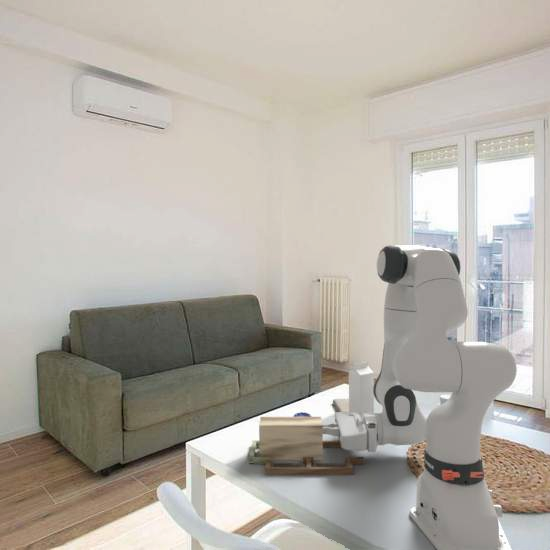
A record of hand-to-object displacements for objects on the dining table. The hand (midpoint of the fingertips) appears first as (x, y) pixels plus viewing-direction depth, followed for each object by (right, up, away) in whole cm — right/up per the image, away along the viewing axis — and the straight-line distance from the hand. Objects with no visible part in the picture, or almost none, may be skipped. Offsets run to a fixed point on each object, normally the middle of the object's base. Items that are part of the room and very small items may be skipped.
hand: (321, 429), depth 133 cm
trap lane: (-5, -8, -3) cm, 9 cm away
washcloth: (+15, -6, +38) cm, 41 cm away
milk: (+15, -7, +21) cm, 27 cm away
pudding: (-4, -7, +19) cm, 21 cm away
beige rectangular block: (-9, -8, +1) cm, 12 cm away
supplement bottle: (+41, -7, +12) cm, 43 cm away
